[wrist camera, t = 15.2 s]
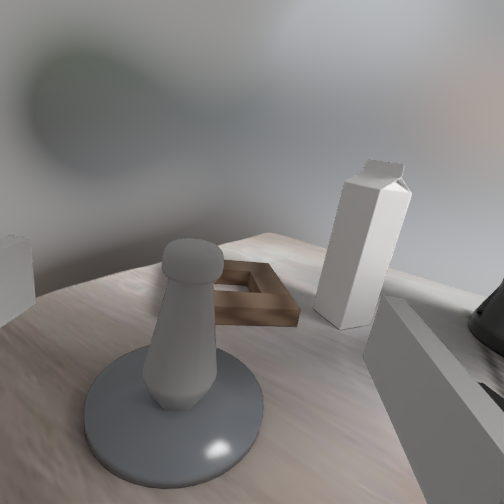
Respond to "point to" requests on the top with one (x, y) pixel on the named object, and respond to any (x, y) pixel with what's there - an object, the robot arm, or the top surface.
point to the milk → (362, 244)
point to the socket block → (254, 297)
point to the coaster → (171, 425)
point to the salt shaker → (185, 327)
